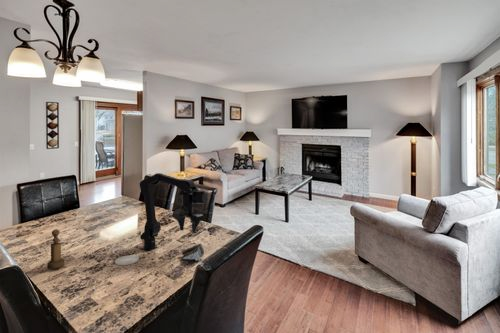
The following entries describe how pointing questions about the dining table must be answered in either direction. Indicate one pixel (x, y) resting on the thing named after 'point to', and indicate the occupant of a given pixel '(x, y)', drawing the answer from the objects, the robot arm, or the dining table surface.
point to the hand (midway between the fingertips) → (187, 231)
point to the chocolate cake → (193, 252)
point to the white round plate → (126, 260)
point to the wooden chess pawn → (55, 252)
